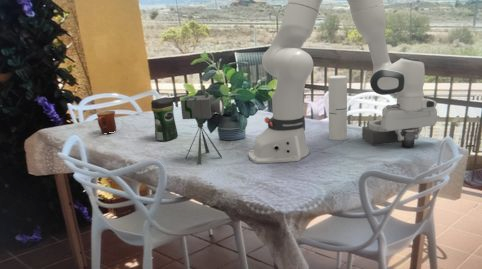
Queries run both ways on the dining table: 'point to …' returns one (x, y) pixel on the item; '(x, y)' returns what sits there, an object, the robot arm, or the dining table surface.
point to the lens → (408, 138)
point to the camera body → (378, 134)
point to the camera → (201, 114)
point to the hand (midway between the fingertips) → (408, 139)
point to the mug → (106, 121)
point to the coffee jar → (164, 119)
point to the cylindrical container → (337, 107)
